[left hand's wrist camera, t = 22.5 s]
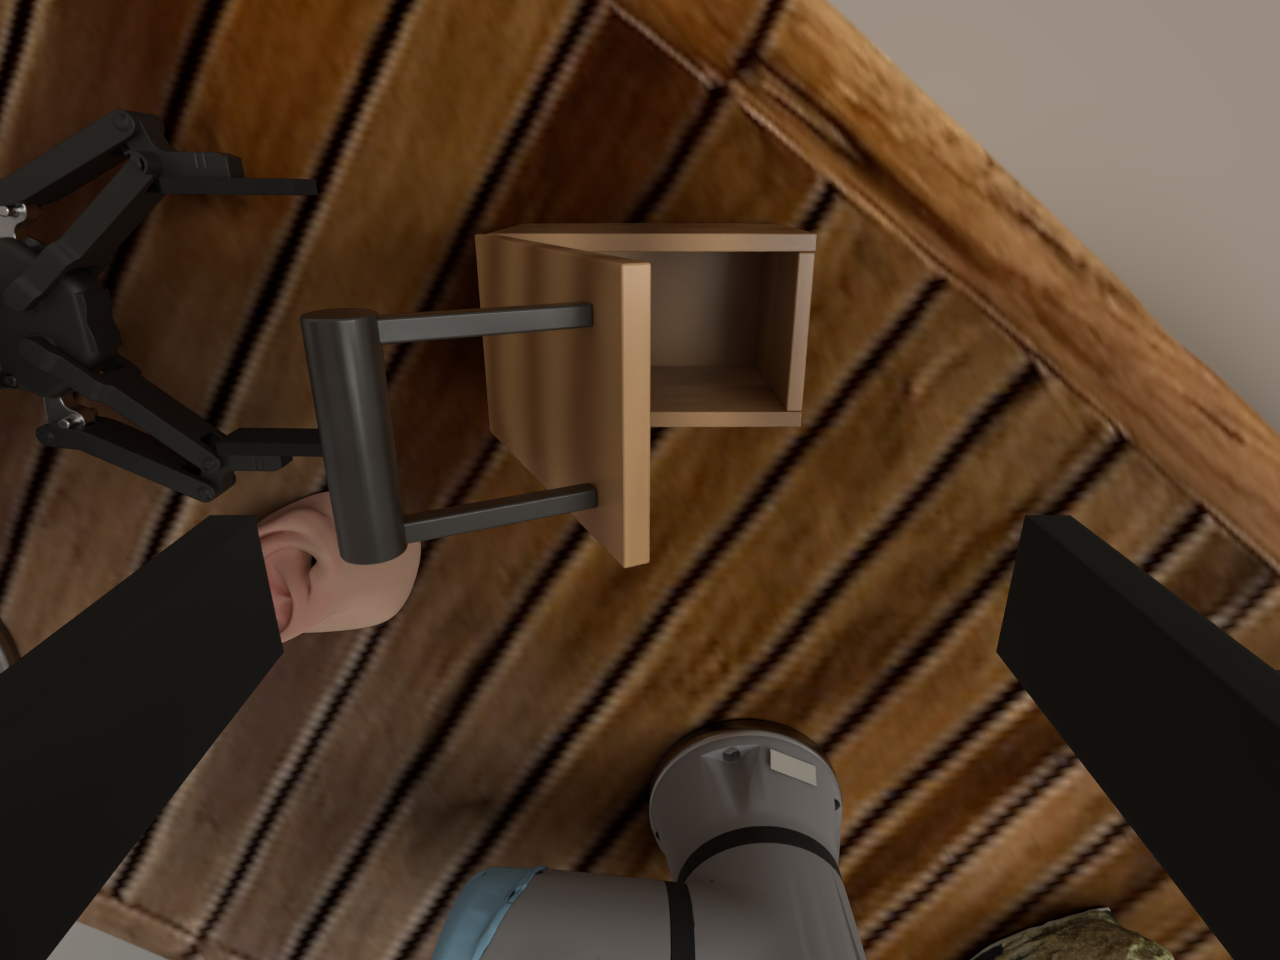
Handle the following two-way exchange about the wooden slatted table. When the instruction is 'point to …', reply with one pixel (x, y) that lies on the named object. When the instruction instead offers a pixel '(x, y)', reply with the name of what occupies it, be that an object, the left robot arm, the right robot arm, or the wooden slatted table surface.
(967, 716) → the wooden slatted table surface
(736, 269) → the chest
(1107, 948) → the fossil
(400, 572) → the anatomical model
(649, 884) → the left robot arm
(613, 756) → the wooden slatted table surface
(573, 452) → the lid
